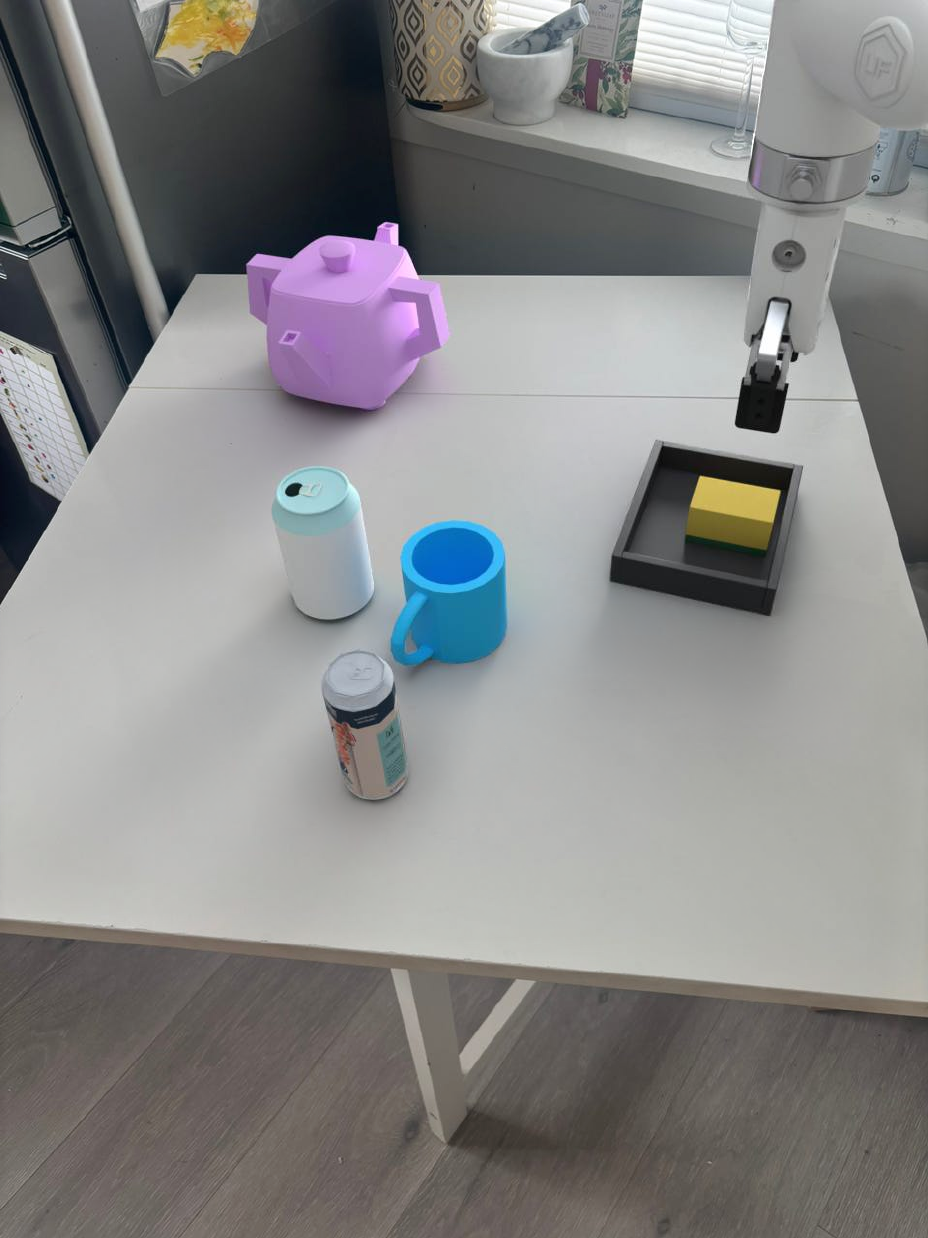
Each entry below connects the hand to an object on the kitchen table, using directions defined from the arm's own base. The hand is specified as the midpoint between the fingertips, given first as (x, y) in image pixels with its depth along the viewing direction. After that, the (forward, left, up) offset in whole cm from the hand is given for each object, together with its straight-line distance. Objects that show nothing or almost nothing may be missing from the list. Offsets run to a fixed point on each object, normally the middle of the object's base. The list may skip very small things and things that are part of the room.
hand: (766, 391), depth 76 cm
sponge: (+1, -1, -16) cm, 16 cm away
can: (+32, +16, -16) cm, 39 cm away
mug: (+21, +18, -16) cm, 32 cm away
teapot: (+44, -15, -16) cm, 49 cm away
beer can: (+21, +32, -16) cm, 42 cm away
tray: (+3, -1, -16) cm, 16 cm away
